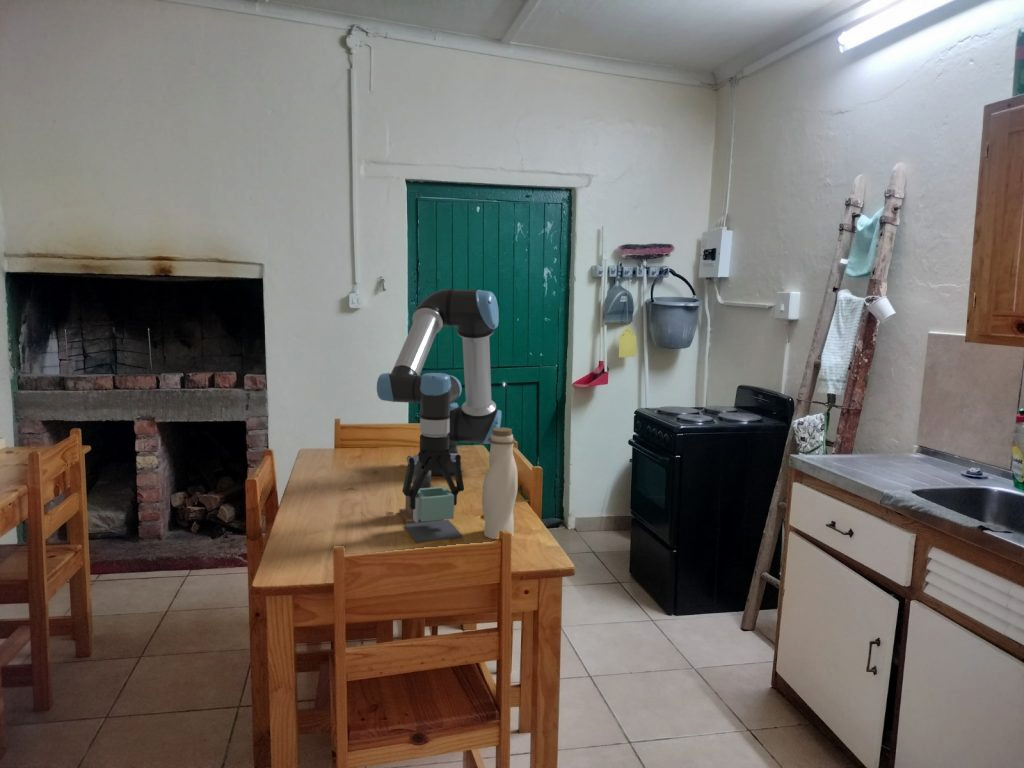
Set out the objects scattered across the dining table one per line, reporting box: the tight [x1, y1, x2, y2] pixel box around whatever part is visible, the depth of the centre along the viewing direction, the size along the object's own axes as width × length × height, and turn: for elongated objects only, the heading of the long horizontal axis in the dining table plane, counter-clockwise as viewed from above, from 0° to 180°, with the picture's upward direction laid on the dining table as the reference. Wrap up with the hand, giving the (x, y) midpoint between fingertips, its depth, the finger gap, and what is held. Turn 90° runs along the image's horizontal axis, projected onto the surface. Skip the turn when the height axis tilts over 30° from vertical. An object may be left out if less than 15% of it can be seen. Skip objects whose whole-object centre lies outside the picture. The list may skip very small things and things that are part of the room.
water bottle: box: [481, 426, 519, 540], centre depth 176 cm, size 10×9×28 cm
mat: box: [404, 519, 463, 543], centre depth 177 cm, size 12×12×1 cm
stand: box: [398, 454, 445, 524], centre depth 187 cm, size 10×10×17 cm
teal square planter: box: [417, 486, 455, 522], centre depth 176 cm, size 8×8×6 cm
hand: (433, 518), depth 177 cm, fingers closed on teal square planter, 8 cm apart
